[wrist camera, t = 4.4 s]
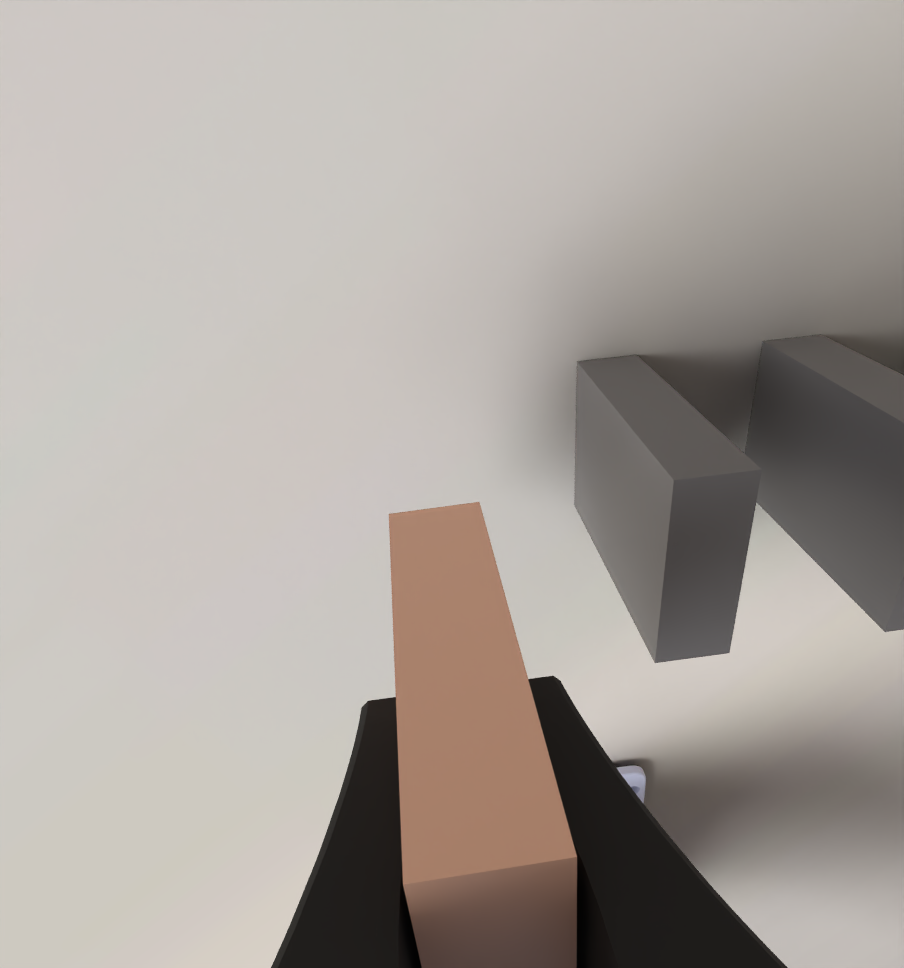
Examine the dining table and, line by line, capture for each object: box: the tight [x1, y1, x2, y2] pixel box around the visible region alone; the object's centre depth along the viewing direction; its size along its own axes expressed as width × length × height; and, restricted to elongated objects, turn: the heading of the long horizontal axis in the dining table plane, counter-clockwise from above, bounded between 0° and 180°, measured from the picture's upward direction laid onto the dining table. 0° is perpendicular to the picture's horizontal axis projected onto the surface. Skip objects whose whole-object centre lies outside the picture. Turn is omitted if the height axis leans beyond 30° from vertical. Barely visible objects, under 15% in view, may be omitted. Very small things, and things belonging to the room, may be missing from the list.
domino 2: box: [574, 355, 762, 663], centre depth 15 cm, size 2×4×6 cm, turn 5°
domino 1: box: [389, 502, 577, 968], centre depth 10 cm, size 2×4×6 cm, turn 5°
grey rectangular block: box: [745, 335, 904, 632], centre depth 16 cm, size 2×4×6 cm, turn 5°
